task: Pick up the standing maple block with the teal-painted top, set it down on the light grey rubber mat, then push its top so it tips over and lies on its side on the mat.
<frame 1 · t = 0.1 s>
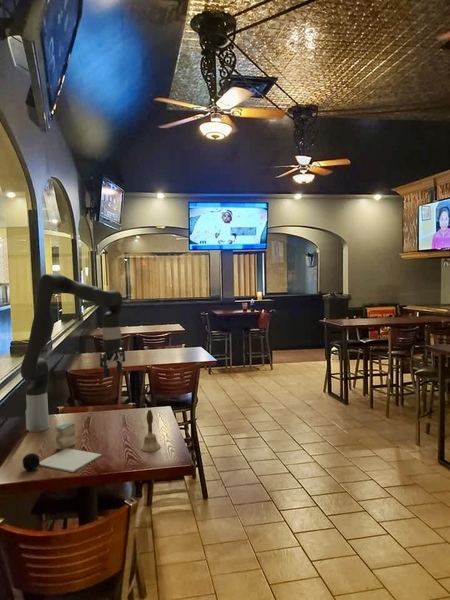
hand: (113, 374, 197), 29 cm above the table, tool pointing down, fingers open, 8 cm apart
block: (66, 446, 195), on the table
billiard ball: (31, 470, 173), on the table
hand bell: (150, 448, 191), on the table
mat: (69, 460, 180), on the table
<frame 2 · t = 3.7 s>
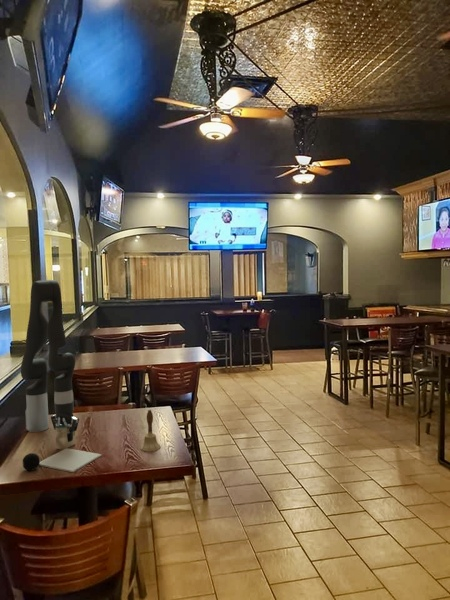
hand: (65, 440, 195), 2 cm above the table, tool pointing down, fingers closed on block, 4 cm apart
block: (66, 446, 195), on the table, touching gripper
everything else where it was.
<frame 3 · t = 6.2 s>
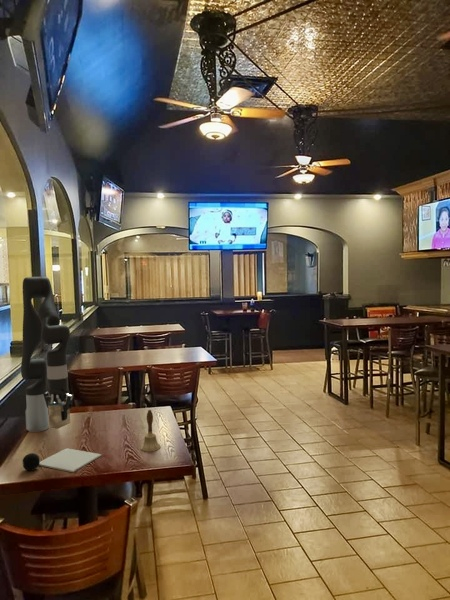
hand: (59, 419, 181), 16 cm above the table, tool pointing down, fingers closed on block, 4 cm apart
block: (60, 425, 181), point 13 cm above the table, touching gripper
everything else where it was.
when the fingers open (4 cm above the table, at t = 8.6 s): block stays where it is, resting on mat.
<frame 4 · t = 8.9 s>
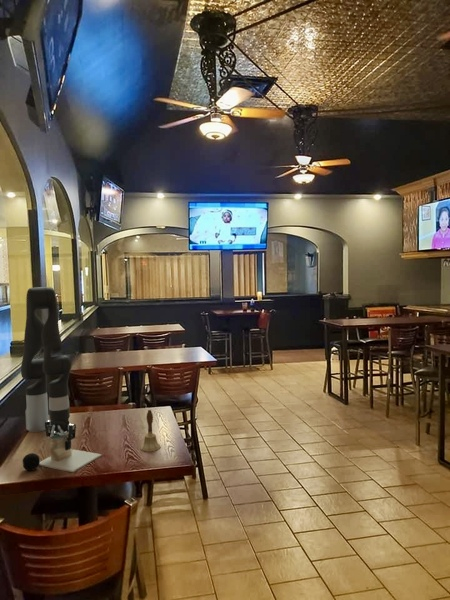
hand: (61, 448, 181), 4 cm above the table, tool pointing down, fingers open, 6 cm apart
block: (61, 457, 182), point 1 cm above the table, touching mat
everything else where it was.
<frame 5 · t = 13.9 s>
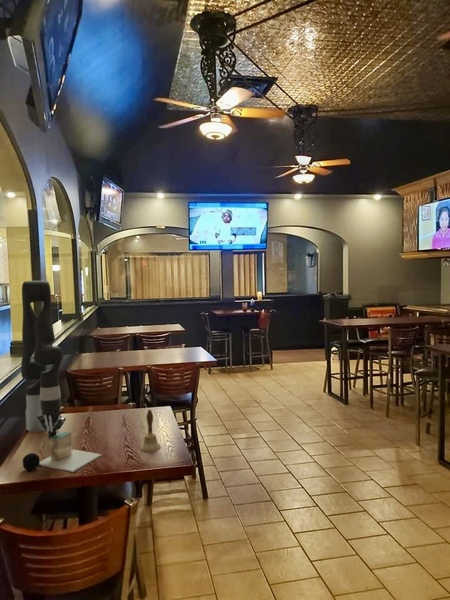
hand: (52, 439, 183), 7 cm above the table, tool pointing down, fingers closed
block: (61, 457, 182), point 1 cm above the table, touching gripper, mat
everything else where it was.
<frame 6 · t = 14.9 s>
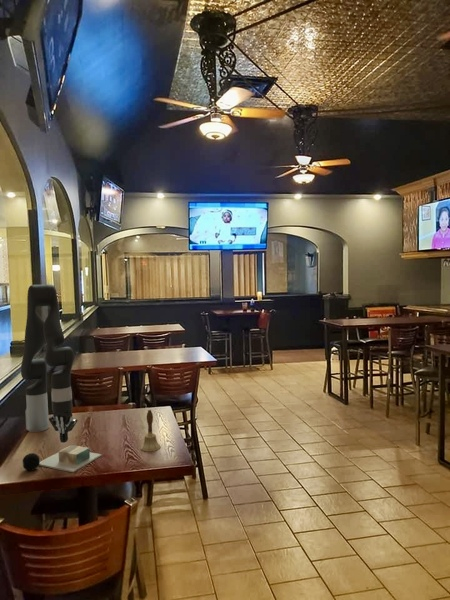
hand: (64, 441, 180), 7 cm above the table, tool pointing down, fingers closed
block: (65, 453, 181), point 3 cm above the table, tilted 90°, touching mat
everything else where it was.
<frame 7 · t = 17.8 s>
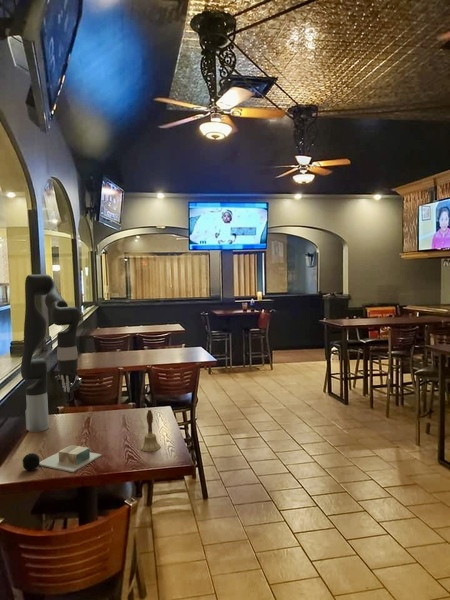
hand: (69, 400, 182), 23 cm above the table, tool pointing down, fingers closed
nothing on the table moved.
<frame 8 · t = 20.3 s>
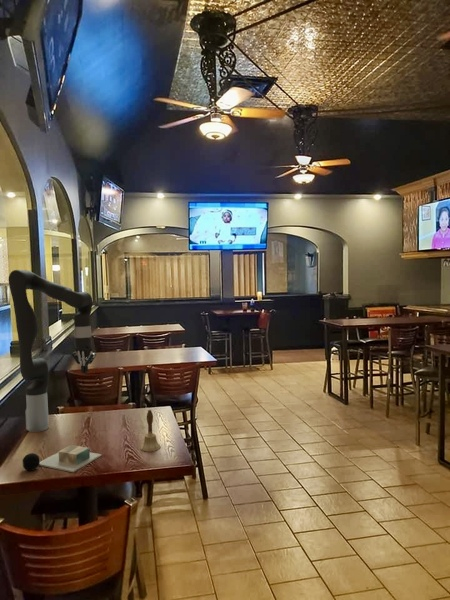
hand: (84, 373, 211), 27 cm above the table, tool pointing down, fingers closed
nothing on the table moved.
at the end: block tilted 90°; block inside the target area (4.1 cm from its centre), point 2.6 cm above the table; the gripper is holding nothing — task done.
